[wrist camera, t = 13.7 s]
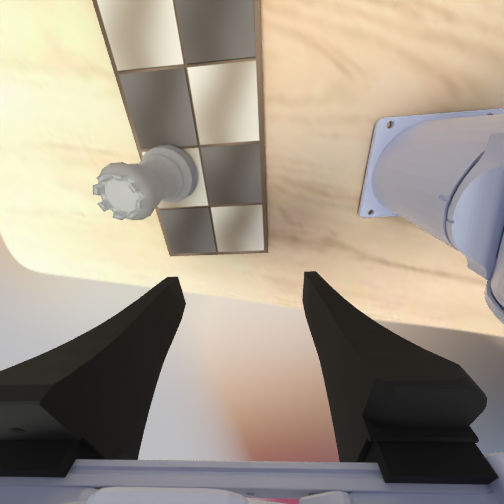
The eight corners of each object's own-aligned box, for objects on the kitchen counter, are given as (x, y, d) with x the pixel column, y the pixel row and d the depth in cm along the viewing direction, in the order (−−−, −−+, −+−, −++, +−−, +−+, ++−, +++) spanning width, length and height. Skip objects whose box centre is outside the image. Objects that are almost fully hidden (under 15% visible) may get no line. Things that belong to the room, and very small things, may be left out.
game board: (257, -56, 12) (257, -70, 11) (267, 248, 22) (268, 253, 21) (89, -32, 13) (76, -44, 12) (172, 252, 23) (169, 257, 22)
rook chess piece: (206, 192, 19) (173, 226, 12) (162, 204, 19) (106, 243, 12) (186, 137, 16) (131, 138, 10) (137, 153, 17) (53, 165, 10)
